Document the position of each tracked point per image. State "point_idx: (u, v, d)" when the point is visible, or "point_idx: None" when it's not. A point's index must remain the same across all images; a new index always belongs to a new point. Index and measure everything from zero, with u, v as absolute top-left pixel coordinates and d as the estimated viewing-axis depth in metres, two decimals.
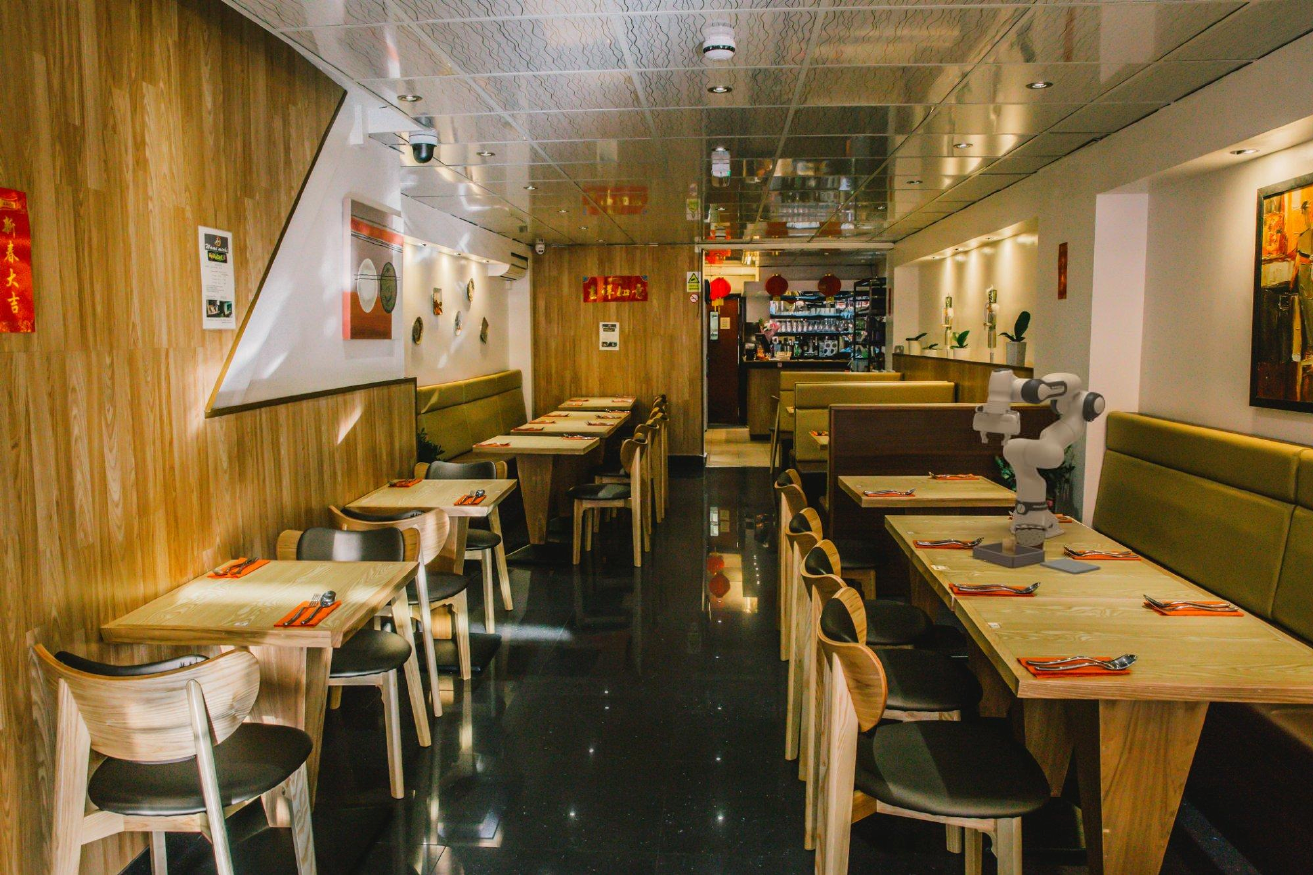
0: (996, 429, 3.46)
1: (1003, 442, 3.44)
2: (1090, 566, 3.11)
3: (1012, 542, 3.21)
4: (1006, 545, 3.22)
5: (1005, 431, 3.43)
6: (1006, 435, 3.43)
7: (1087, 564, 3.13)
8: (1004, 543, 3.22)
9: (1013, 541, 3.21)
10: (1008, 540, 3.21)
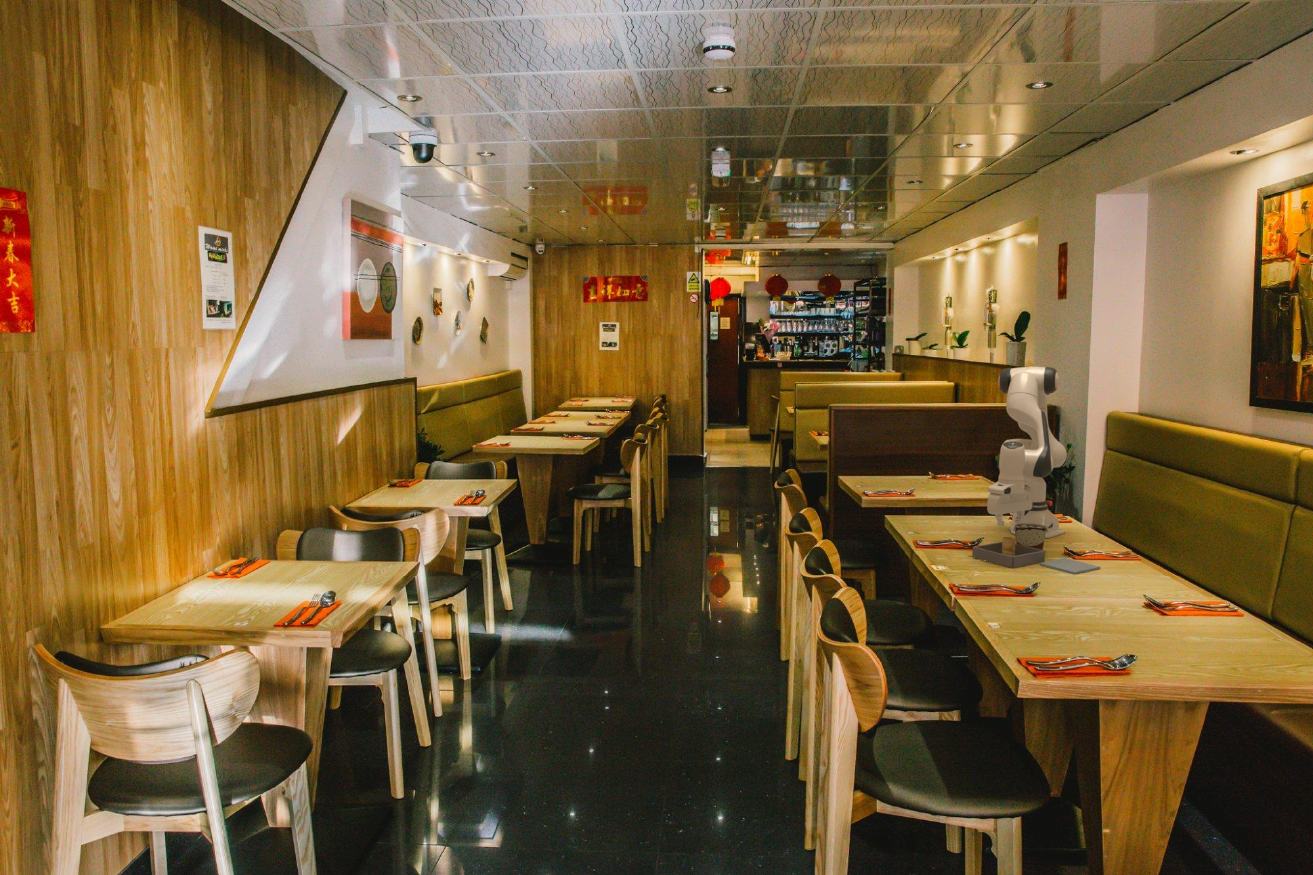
0: (1017, 508, 3.21)
1: (1021, 520, 3.24)
2: (1090, 566, 3.11)
3: (1012, 542, 3.21)
4: (1006, 545, 3.22)
5: (1025, 508, 3.23)
6: (1023, 512, 3.24)
7: (1087, 564, 3.13)
8: (1004, 543, 3.22)
9: (1013, 541, 3.21)
10: (1008, 540, 3.21)
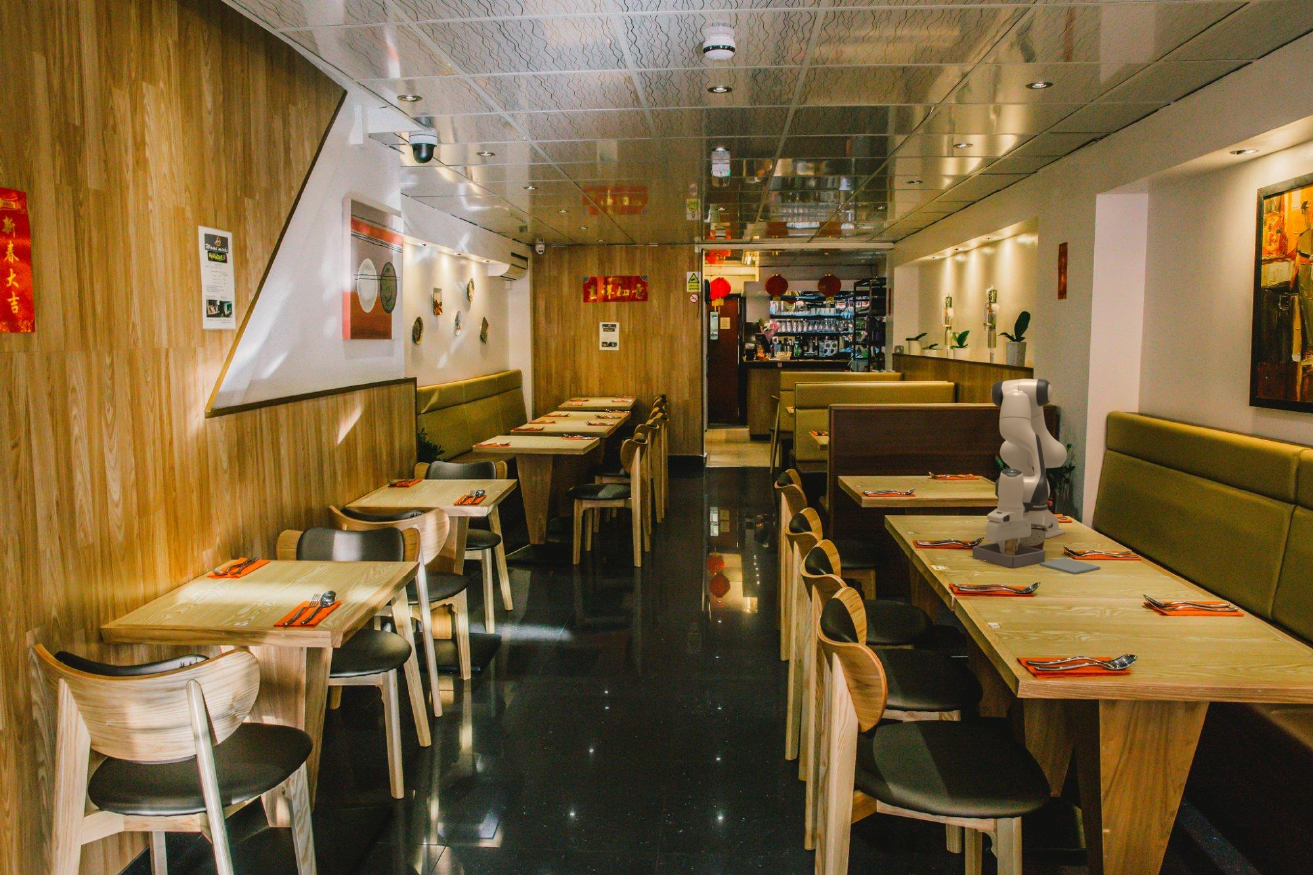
0: (1016, 536, 3.22)
1: (1016, 547, 3.24)
2: (1090, 566, 3.11)
3: (1012, 542, 3.21)
4: (1006, 545, 3.22)
5: (1024, 535, 3.24)
6: (1019, 539, 3.24)
7: (1087, 564, 3.13)
8: None
9: (1013, 541, 3.21)
10: (1008, 540, 3.21)
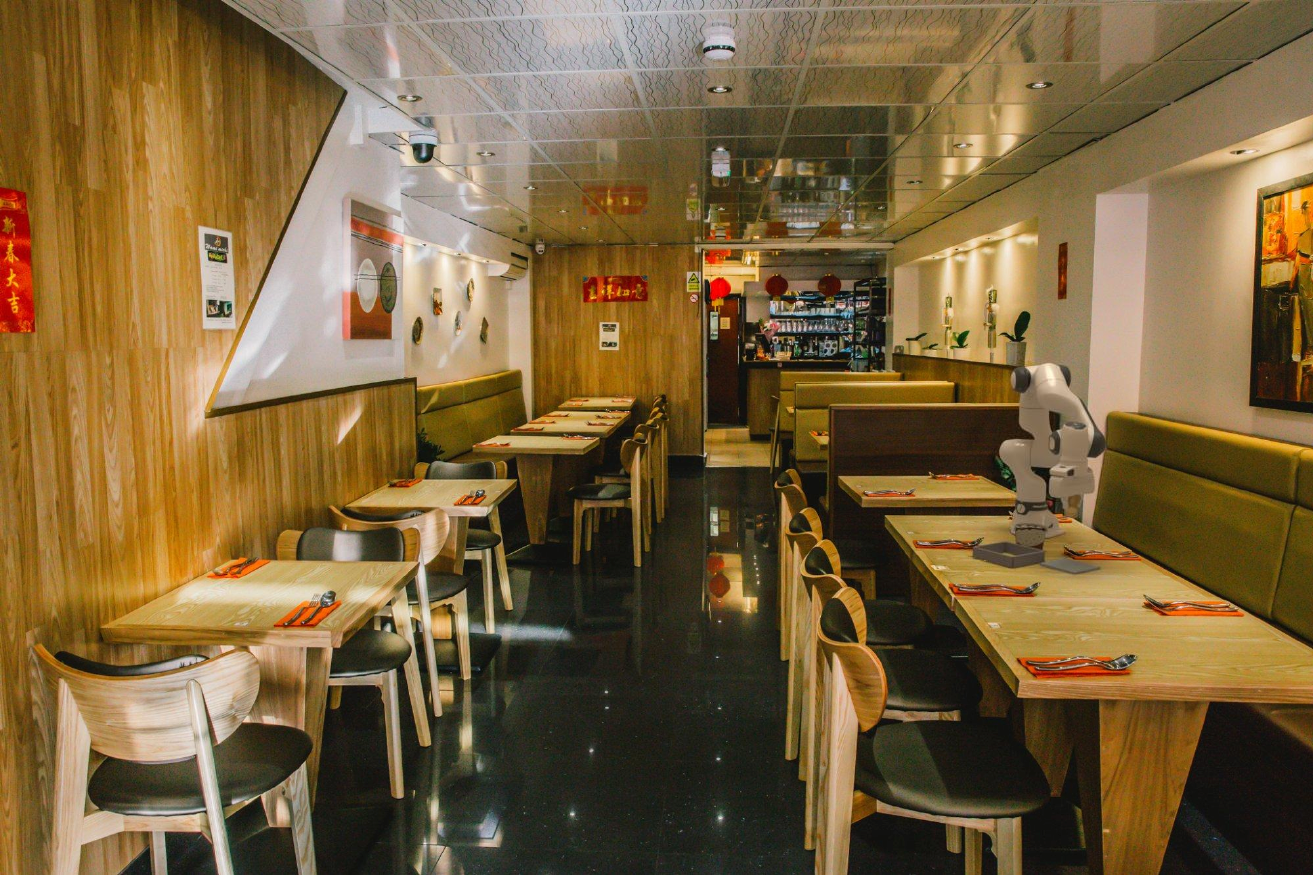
0: (1080, 491, 3.09)
1: (1079, 504, 3.11)
2: (1090, 566, 3.11)
3: (1076, 498, 3.08)
4: (1069, 502, 3.09)
5: (1087, 491, 3.11)
6: (1082, 496, 3.11)
7: (1087, 564, 3.13)
8: None
9: (1077, 497, 3.08)
10: (1072, 496, 3.08)
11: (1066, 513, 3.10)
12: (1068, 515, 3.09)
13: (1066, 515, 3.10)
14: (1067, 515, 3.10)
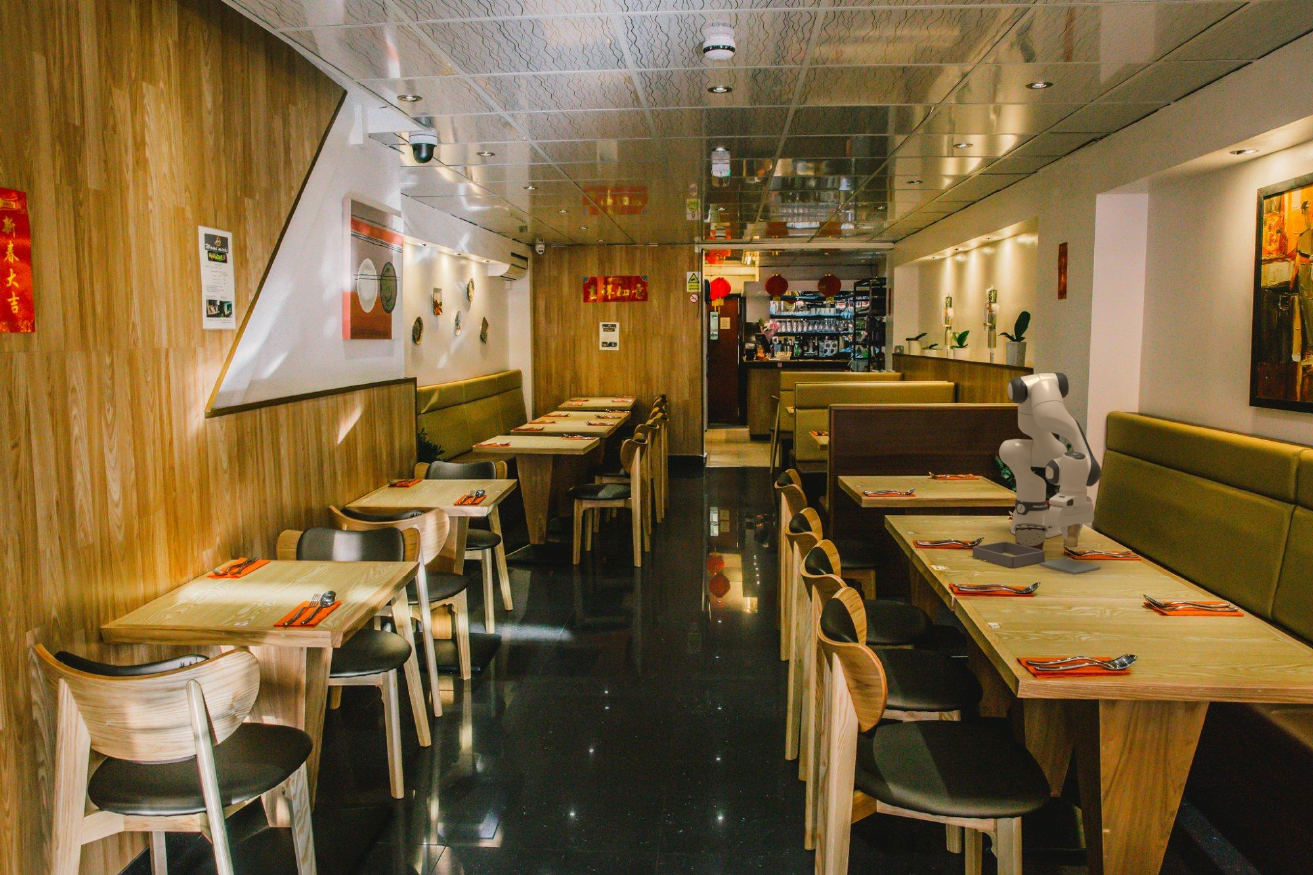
0: (1079, 521, 3.10)
1: (1079, 533, 3.12)
2: (1090, 566, 3.11)
3: (1075, 527, 3.09)
4: (1068, 531, 3.10)
5: (1087, 520, 3.12)
6: (1081, 525, 3.12)
7: (1087, 564, 3.13)
8: None
9: (1076, 526, 3.09)
10: None
11: (1065, 542, 3.11)
12: (1067, 544, 3.10)
13: (1065, 544, 3.11)
14: (1066, 544, 3.11)
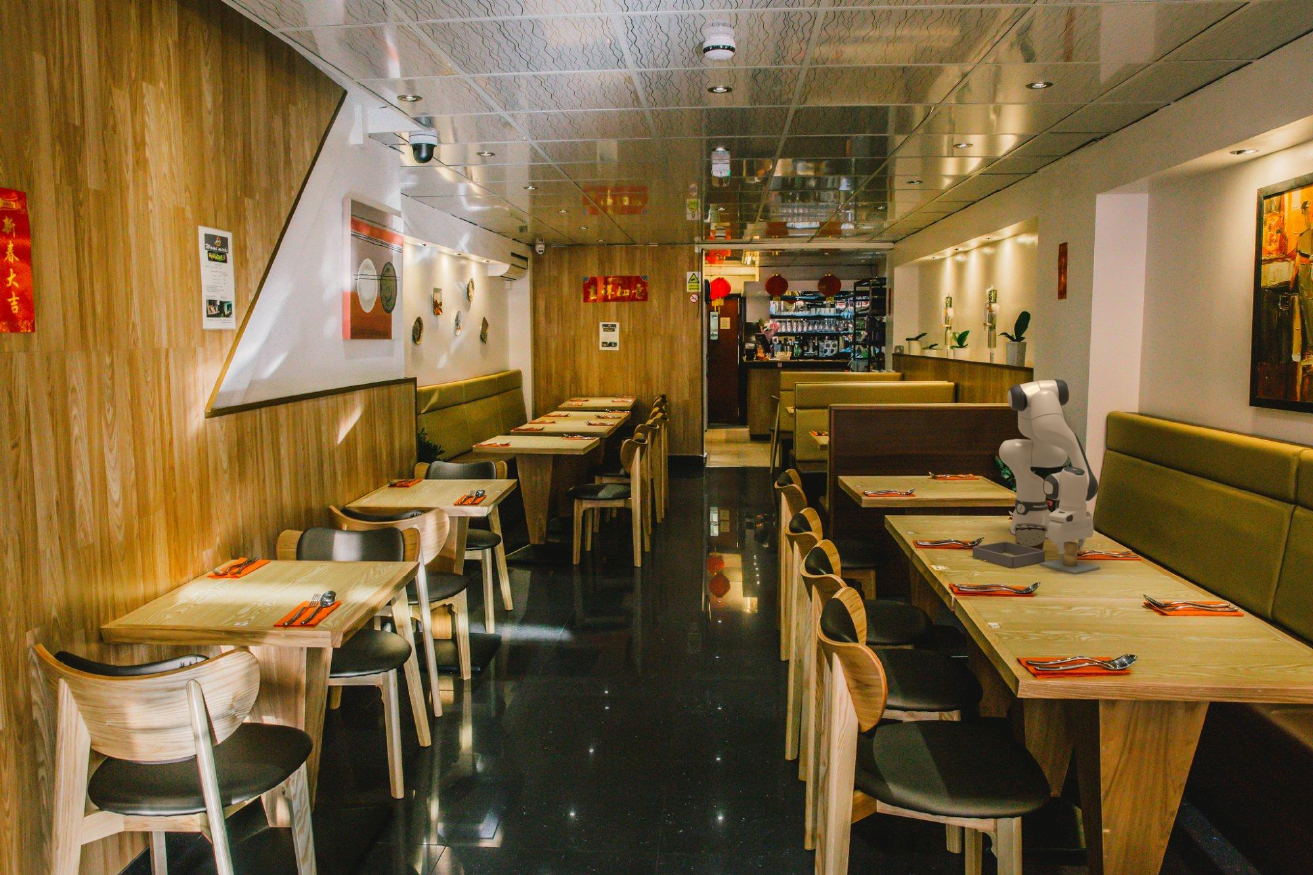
0: (1079, 536, 3.11)
1: (1081, 547, 3.14)
2: (1090, 566, 3.11)
3: (1074, 547, 3.10)
4: (1068, 550, 3.11)
5: (1086, 535, 3.13)
6: (1084, 539, 3.14)
7: (1087, 564, 3.13)
8: (1066, 548, 3.11)
9: (1075, 546, 3.10)
10: (1070, 545, 3.10)
11: (1065, 561, 3.12)
12: (1067, 563, 3.11)
13: (1065, 563, 3.12)
14: (1066, 563, 3.12)
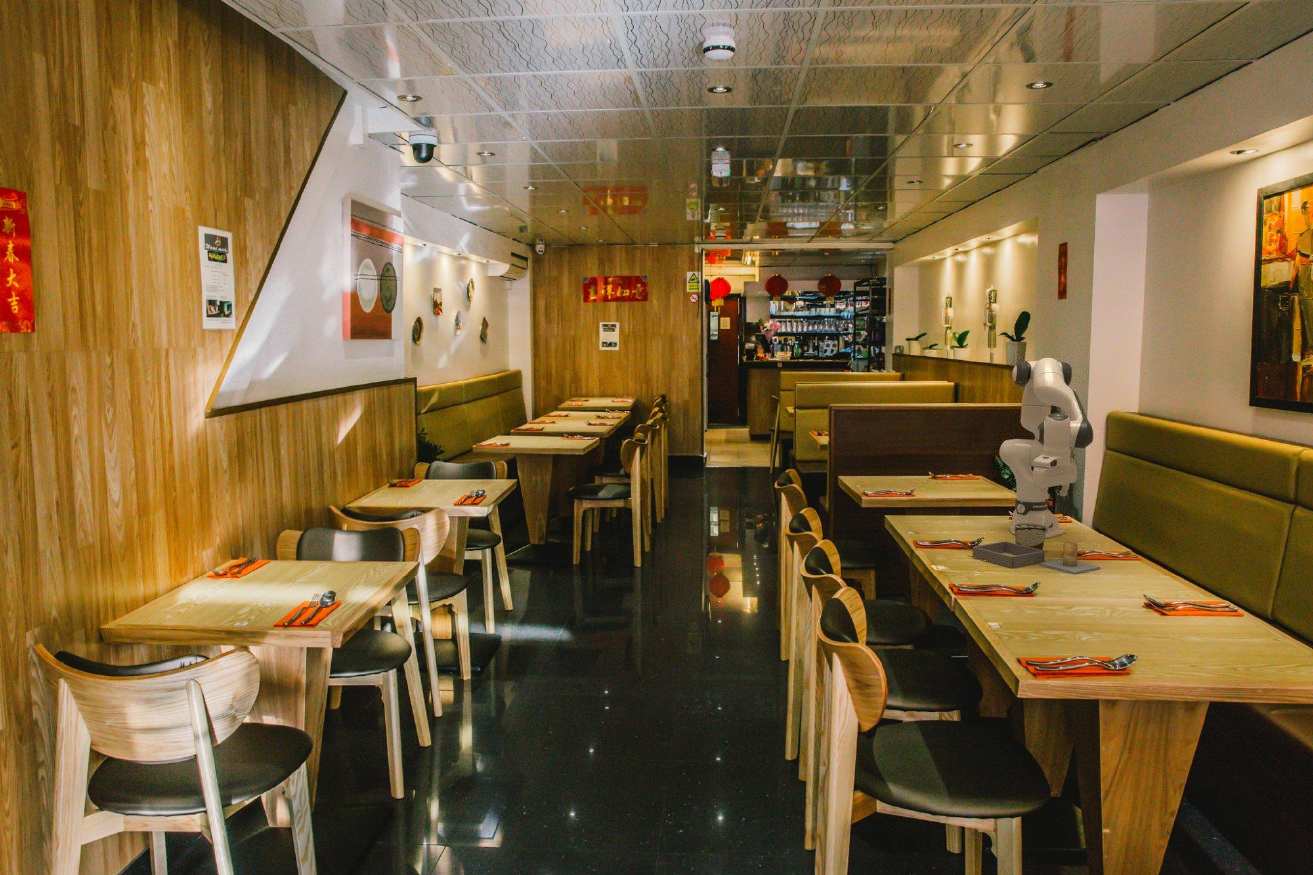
0: (1063, 481, 3.16)
1: (1065, 492, 3.19)
2: (1090, 566, 3.11)
3: (1074, 547, 3.10)
4: (1068, 550, 3.11)
5: (1070, 481, 3.18)
6: (1068, 484, 3.19)
7: (1087, 564, 3.13)
8: (1066, 548, 3.11)
9: (1075, 546, 3.10)
10: (1070, 545, 3.10)
11: (1065, 561, 3.12)
12: (1067, 563, 3.11)
13: (1065, 563, 3.12)
14: (1066, 563, 3.12)
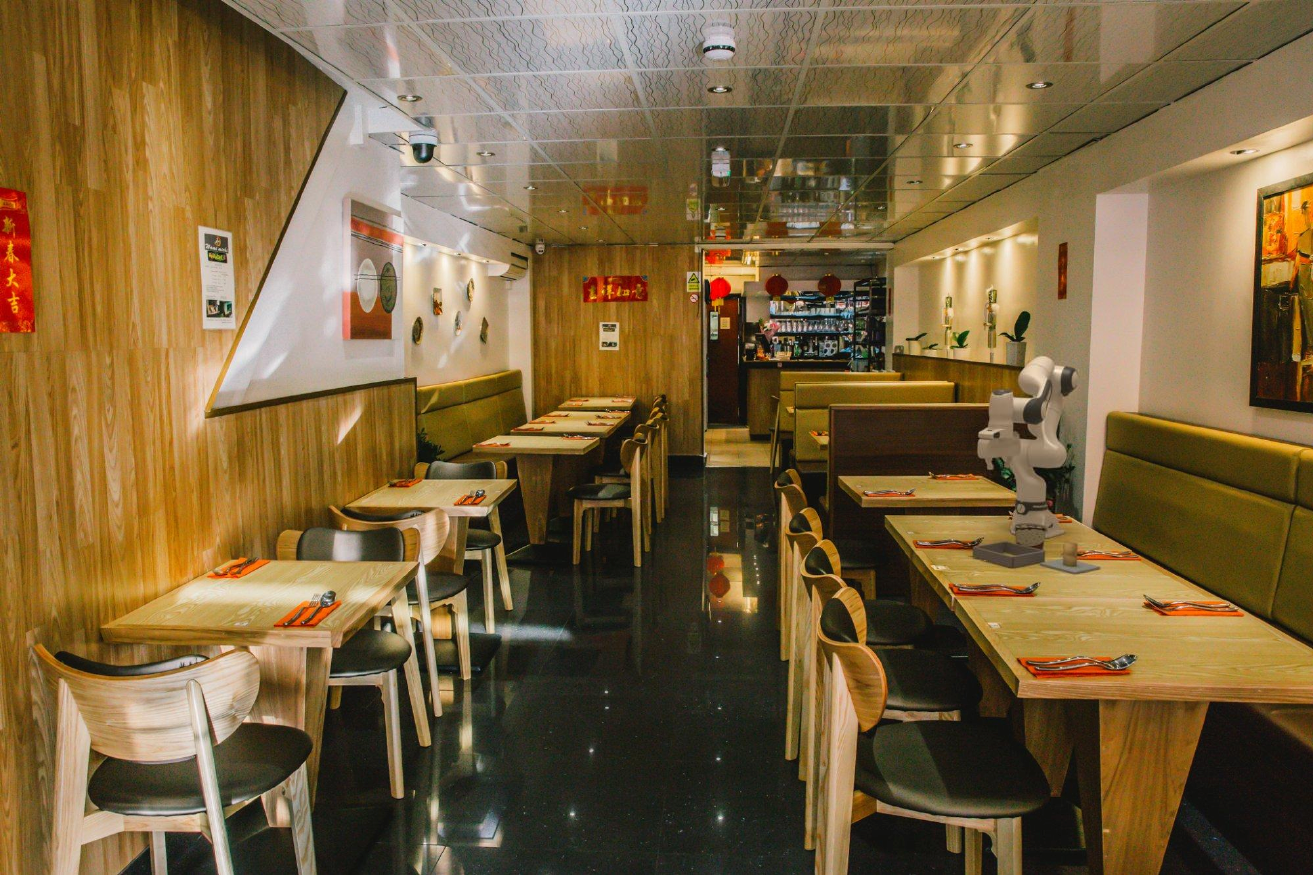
0: (1006, 453, 3.36)
1: (1009, 464, 3.39)
2: (1090, 566, 3.11)
3: (1074, 547, 3.10)
4: (1068, 550, 3.11)
5: (1014, 453, 3.38)
6: (1012, 457, 3.39)
7: (1087, 564, 3.13)
8: (1066, 548, 3.11)
9: (1075, 546, 3.10)
10: (1070, 545, 3.10)
11: (1065, 561, 3.12)
12: (1067, 563, 3.11)
13: (1065, 563, 3.12)
14: (1066, 563, 3.12)
